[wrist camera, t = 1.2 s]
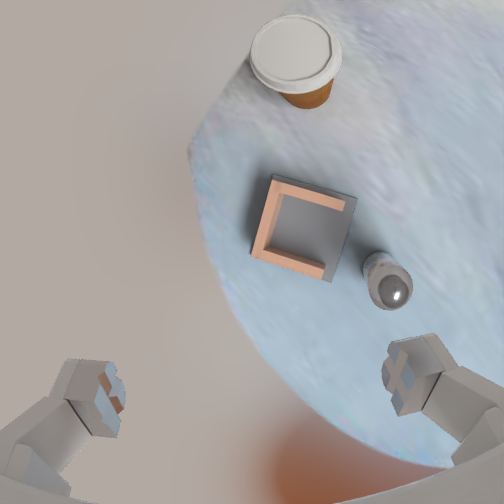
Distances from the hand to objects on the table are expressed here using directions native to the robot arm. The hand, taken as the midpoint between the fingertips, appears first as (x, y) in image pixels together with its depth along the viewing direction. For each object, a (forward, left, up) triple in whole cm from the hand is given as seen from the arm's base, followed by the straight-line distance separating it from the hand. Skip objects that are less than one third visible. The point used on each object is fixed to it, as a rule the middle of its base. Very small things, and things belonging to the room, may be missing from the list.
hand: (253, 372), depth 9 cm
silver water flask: (+1, +8, -33) cm, 34 cm away
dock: (-1, -3, -33) cm, 34 cm away
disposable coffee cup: (-19, -7, -34) cm, 39 cm away
